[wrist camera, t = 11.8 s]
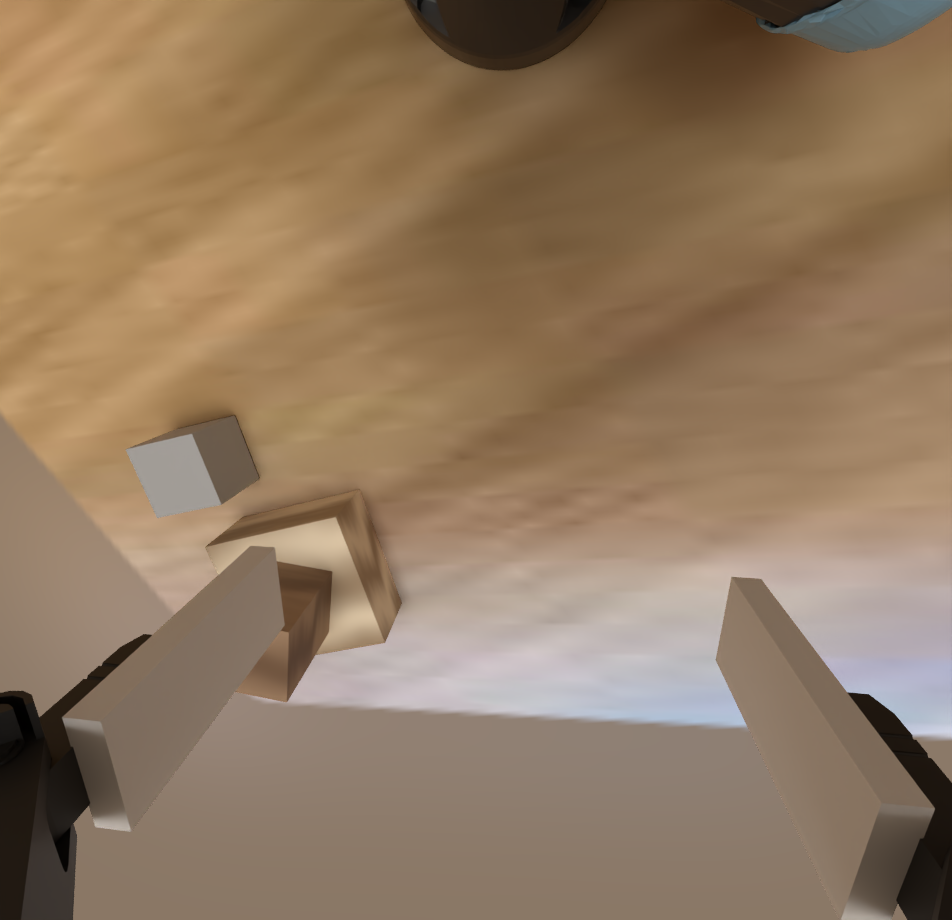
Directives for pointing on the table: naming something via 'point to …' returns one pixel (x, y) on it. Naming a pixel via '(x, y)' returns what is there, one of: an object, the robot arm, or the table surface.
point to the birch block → (326, 562)
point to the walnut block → (293, 633)
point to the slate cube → (194, 466)
